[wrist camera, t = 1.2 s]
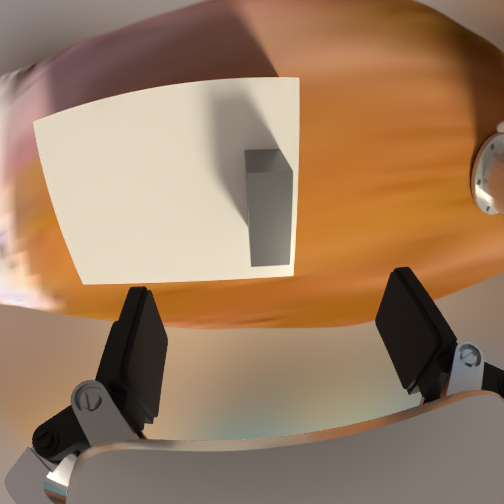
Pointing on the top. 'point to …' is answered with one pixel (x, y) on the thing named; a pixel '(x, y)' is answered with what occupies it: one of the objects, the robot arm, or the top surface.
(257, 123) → the sliding lid
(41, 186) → the top surface
